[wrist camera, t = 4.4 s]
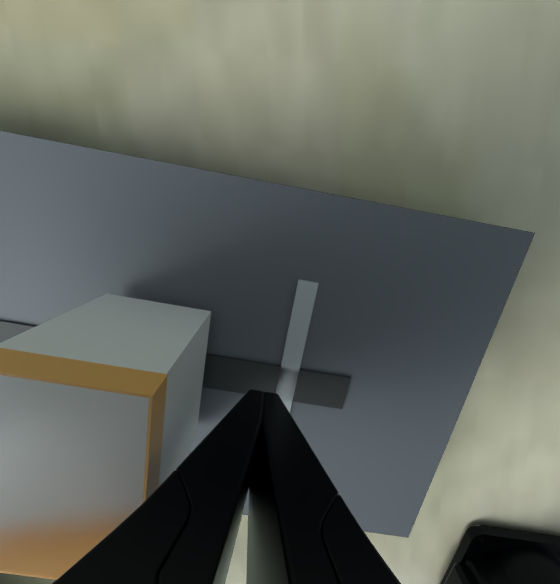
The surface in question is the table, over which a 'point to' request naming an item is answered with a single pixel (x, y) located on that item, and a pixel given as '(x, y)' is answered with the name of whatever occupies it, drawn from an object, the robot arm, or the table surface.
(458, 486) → the table surface
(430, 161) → the table surface
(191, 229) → the fader board
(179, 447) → the fader
